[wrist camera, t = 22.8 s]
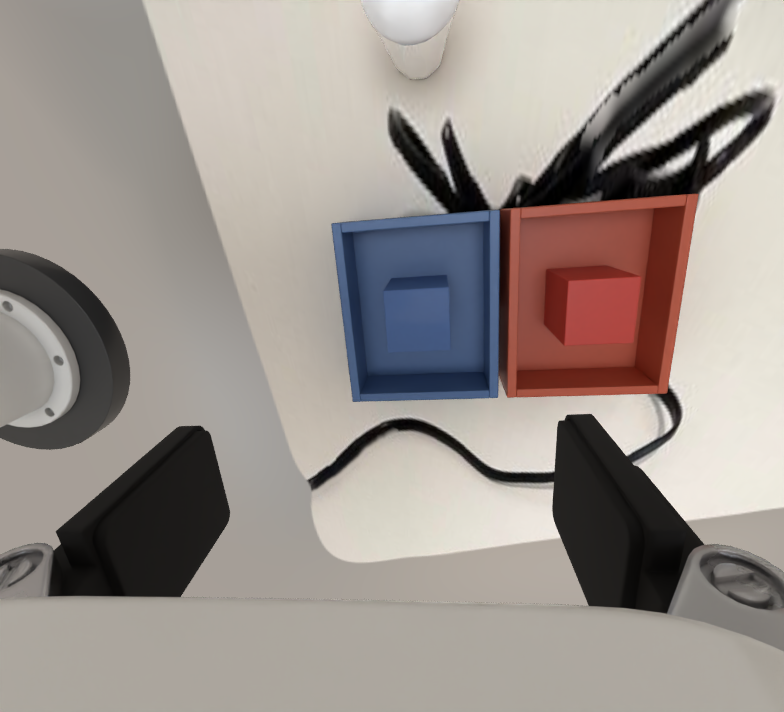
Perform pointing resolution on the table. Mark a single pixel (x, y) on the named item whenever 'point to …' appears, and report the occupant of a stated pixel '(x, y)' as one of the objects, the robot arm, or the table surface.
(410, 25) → the milkshake
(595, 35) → the table surface
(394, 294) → the blue block
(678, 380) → the table surface
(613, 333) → the red block
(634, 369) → the red bin
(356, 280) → the blue bin
